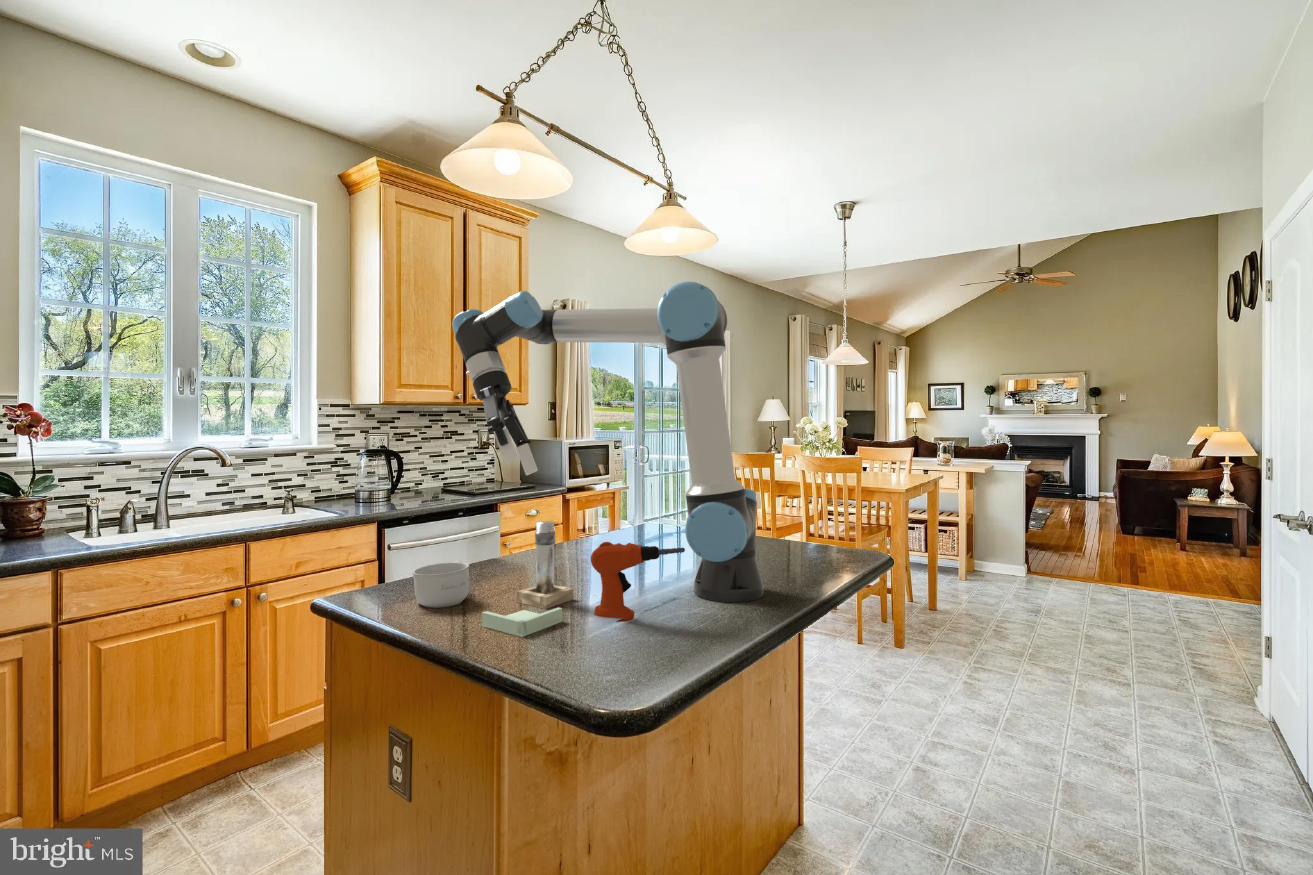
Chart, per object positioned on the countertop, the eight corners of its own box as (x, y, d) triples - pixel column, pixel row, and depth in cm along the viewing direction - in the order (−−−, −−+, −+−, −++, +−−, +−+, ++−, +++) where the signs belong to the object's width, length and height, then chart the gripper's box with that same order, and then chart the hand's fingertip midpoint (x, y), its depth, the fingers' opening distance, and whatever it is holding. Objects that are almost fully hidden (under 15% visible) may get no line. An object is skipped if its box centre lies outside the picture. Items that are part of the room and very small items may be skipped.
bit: (559, 599, 127) (559, 522, 127) (545, 604, 124) (545, 524, 124) (544, 596, 129) (544, 520, 129) (530, 601, 126) (530, 522, 126)
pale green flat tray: (562, 625, 113) (562, 608, 113) (522, 641, 105) (521, 622, 105) (523, 616, 119) (523, 599, 119) (482, 630, 111) (482, 612, 111)
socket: (572, 602, 128) (573, 588, 128) (545, 612, 121) (545, 597, 121) (544, 596, 132) (544, 582, 132) (516, 605, 126) (516, 591, 126)
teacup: (446, 616, 119) (446, 574, 118) (400, 610, 122) (400, 570, 122) (488, 597, 132) (488, 559, 132) (446, 592, 135) (446, 556, 135)
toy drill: (691, 617, 114) (681, 536, 114) (592, 625, 116) (582, 546, 116) (693, 609, 118) (684, 531, 118) (598, 617, 121) (588, 541, 121)
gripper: (493, 401, 145) (524, 483, 140) (448, 364, 121) (482, 462, 115) (523, 388, 145) (554, 470, 140) (483, 349, 121) (519, 446, 115)
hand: (522, 467), depth 127 cm, fingers open, 13 cm apart
